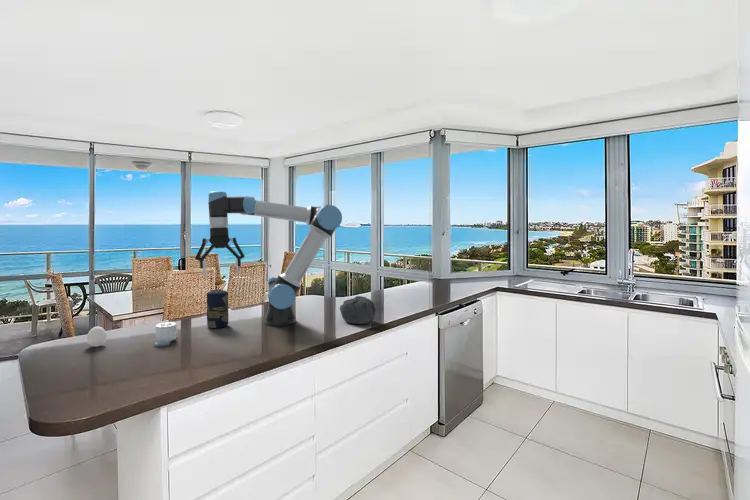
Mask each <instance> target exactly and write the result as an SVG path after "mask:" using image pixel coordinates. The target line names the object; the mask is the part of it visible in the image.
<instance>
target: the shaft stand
mask: <svg viewBox="0 0 750 500" xmlns="http://www.w3.org/2000/svg"><path fill="white" fill-rule="evenodd" d="M169 325H170V324H162V326H169ZM173 341H174V340H170V341H162V342H160V341H156V342H155V343H154V347H165V346H166V347H167V346H170V345H171V344H172V343H173Z"/></svg>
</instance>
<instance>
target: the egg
mask: <svg viewBox="0 0 750 500" xmlns="http://www.w3.org/2000/svg"><path fill="white" fill-rule="evenodd" d="M107 339H108V334H107V332H106V329H104V327H101V326H94V327H92V328H91V329H90V330H89V331H88V333H87V335H86V342H87V344H89V345H90V346H92V347H94V348H95V347H96V348H98V347H101V346H102V345H104V344H105V343H106V341H107Z"/></svg>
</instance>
